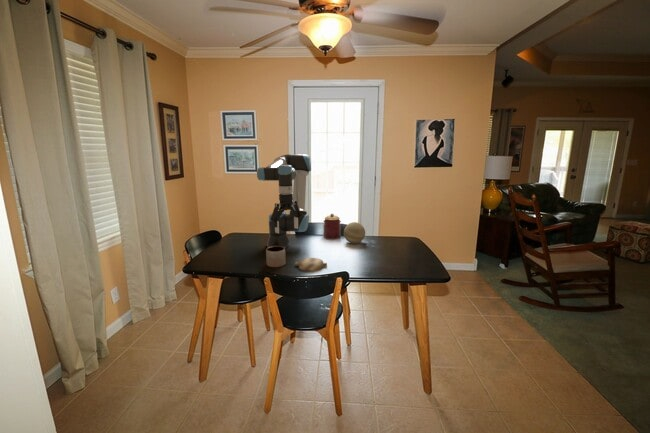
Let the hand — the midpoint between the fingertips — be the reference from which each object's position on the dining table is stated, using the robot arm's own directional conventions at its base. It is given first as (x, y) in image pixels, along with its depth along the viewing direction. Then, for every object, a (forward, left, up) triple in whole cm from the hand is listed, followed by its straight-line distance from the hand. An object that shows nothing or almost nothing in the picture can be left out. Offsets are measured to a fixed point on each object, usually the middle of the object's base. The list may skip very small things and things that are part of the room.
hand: (286, 230), depth 174 cm
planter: (-4, -6, -20) cm, 21 cm away
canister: (-24, +57, -20) cm, 65 cm away
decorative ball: (-1, +57, -20) cm, 61 cm away
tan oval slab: (+12, +7, -20) cm, 25 cm away
